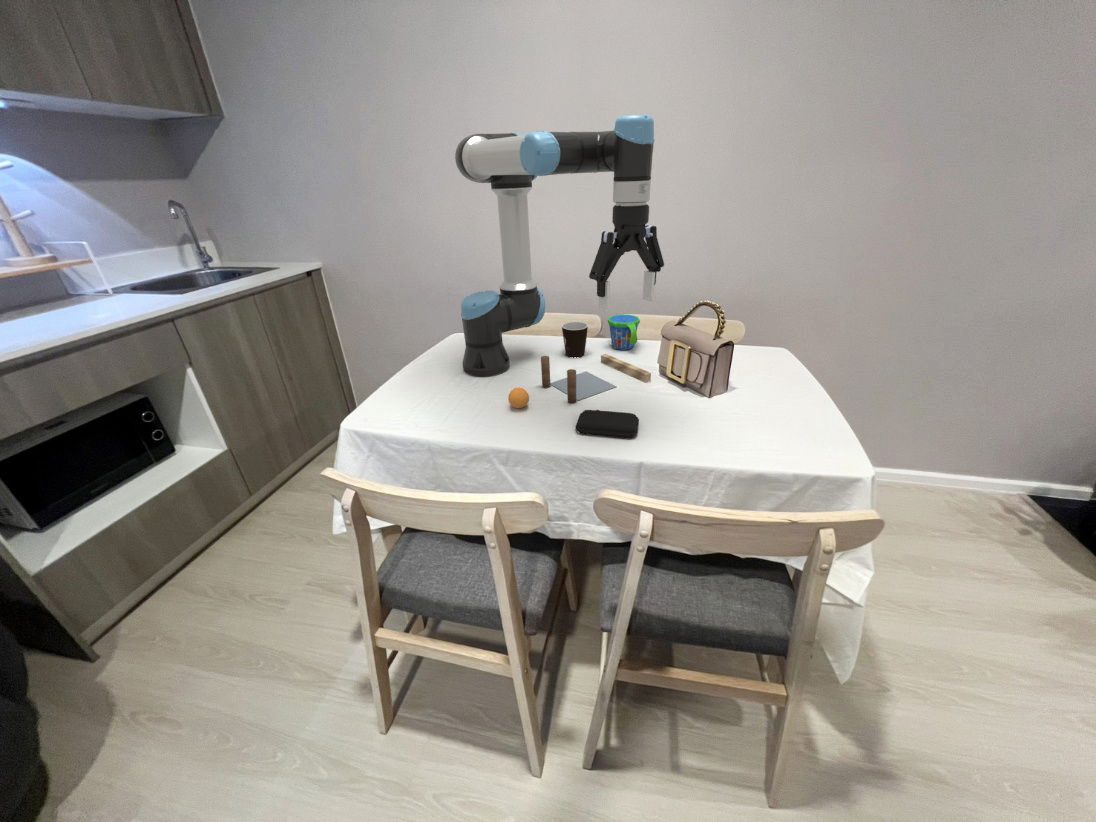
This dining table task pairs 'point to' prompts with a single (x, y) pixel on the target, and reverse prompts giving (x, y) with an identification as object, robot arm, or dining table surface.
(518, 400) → the ball
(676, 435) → the dining table surface
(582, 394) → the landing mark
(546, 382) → the left post
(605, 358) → the stopper wall
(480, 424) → the dining table surface
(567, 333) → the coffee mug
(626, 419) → the carrying case or bag
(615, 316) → the snack cup
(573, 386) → the right post
